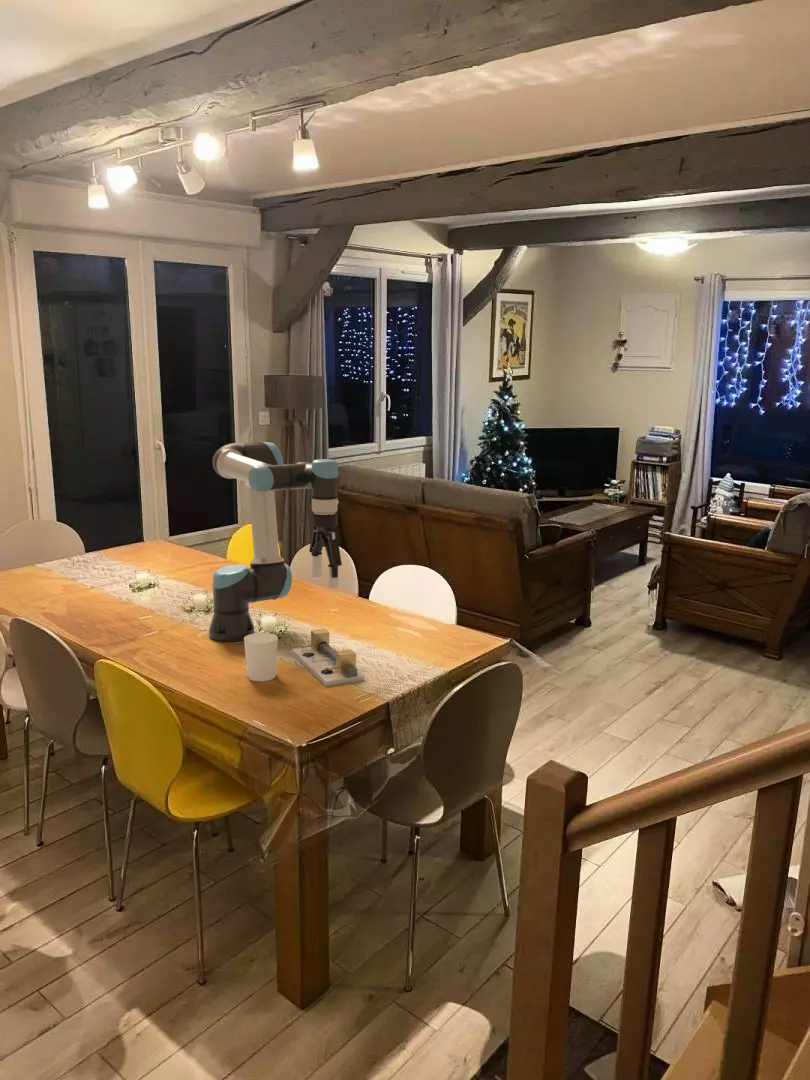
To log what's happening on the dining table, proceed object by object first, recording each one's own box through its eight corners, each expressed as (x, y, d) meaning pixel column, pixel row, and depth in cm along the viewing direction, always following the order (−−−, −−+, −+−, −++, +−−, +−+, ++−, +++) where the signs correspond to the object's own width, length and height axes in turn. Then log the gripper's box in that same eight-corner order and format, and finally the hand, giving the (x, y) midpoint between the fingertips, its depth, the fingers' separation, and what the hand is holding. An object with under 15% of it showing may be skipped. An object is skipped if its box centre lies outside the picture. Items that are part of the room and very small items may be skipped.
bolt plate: (326, 686, 236) (326, 664, 235) (292, 653, 262) (291, 633, 261) (364, 680, 242) (364, 658, 240) (327, 648, 268) (327, 628, 266)
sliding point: (303, 650, 260) (302, 635, 259) (298, 646, 264) (298, 631, 263) (329, 646, 264) (329, 632, 263) (324, 643, 268) (324, 628, 266)
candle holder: (280, 670, 248) (279, 632, 245) (276, 682, 238) (275, 643, 236) (247, 670, 248) (246, 632, 245) (242, 682, 238) (241, 643, 235)
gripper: (353, 518, 233) (352, 591, 237) (321, 505, 254) (321, 571, 259) (328, 520, 229) (328, 594, 234) (298, 506, 251) (299, 573, 255)
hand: (325, 582), depth 246 cm, fingers open, 13 cm apart
